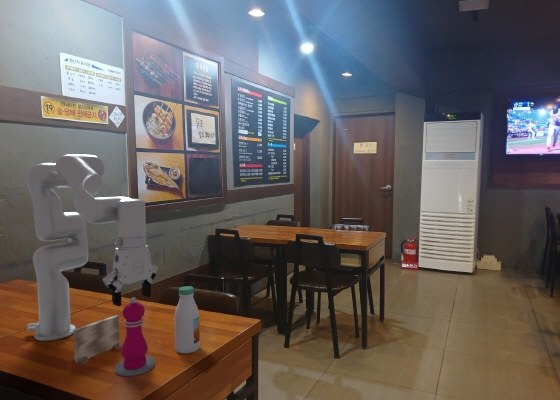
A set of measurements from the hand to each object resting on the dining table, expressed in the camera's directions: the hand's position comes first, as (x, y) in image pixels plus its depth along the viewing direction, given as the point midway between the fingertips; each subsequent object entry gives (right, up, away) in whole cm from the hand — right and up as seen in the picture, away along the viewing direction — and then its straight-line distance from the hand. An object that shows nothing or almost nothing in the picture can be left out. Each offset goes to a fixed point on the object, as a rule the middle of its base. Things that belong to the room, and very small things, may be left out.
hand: (132, 300), depth 112 cm
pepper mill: (0, -19, +1) cm, 19 cm away
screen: (-14, -19, +9) cm, 26 cm away
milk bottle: (+13, -19, +12) cm, 26 cm away
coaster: (+1, -20, +1) cm, 20 cm away
